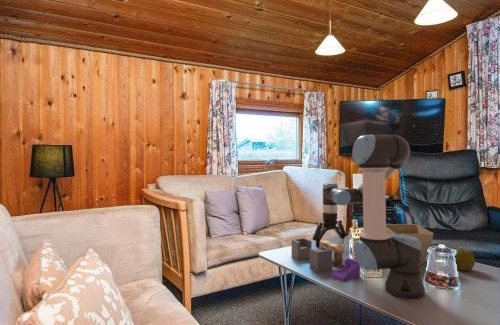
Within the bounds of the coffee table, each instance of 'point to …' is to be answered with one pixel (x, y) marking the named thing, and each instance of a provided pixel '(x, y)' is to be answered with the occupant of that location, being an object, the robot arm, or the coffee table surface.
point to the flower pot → (413, 235)
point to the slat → (332, 246)
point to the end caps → (312, 254)
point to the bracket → (347, 270)
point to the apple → (464, 260)
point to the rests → (337, 257)
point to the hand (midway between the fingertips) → (329, 251)
